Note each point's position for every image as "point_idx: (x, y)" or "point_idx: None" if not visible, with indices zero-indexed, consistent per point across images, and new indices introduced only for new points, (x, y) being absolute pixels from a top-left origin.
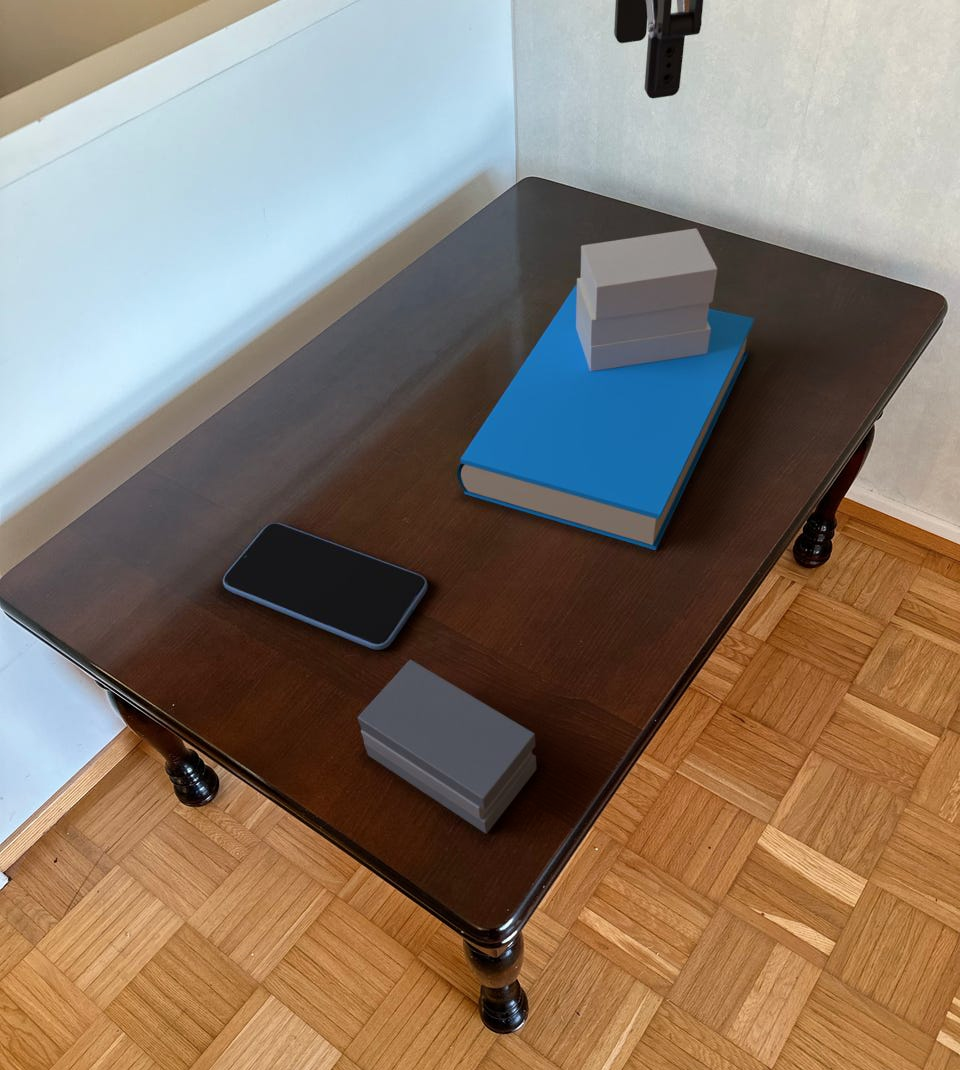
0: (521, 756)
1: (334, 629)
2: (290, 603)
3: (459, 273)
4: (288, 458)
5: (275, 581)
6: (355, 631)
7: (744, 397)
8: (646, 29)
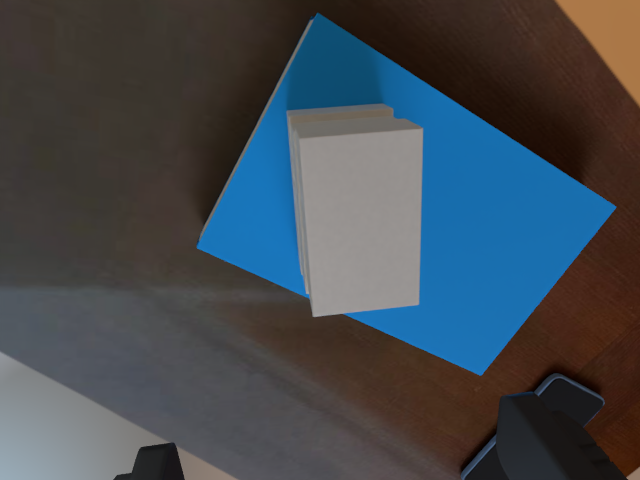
0: None
1: None
2: None
3: (97, 354)
4: (380, 474)
5: None
6: (587, 419)
7: (391, 42)
8: (165, 456)
